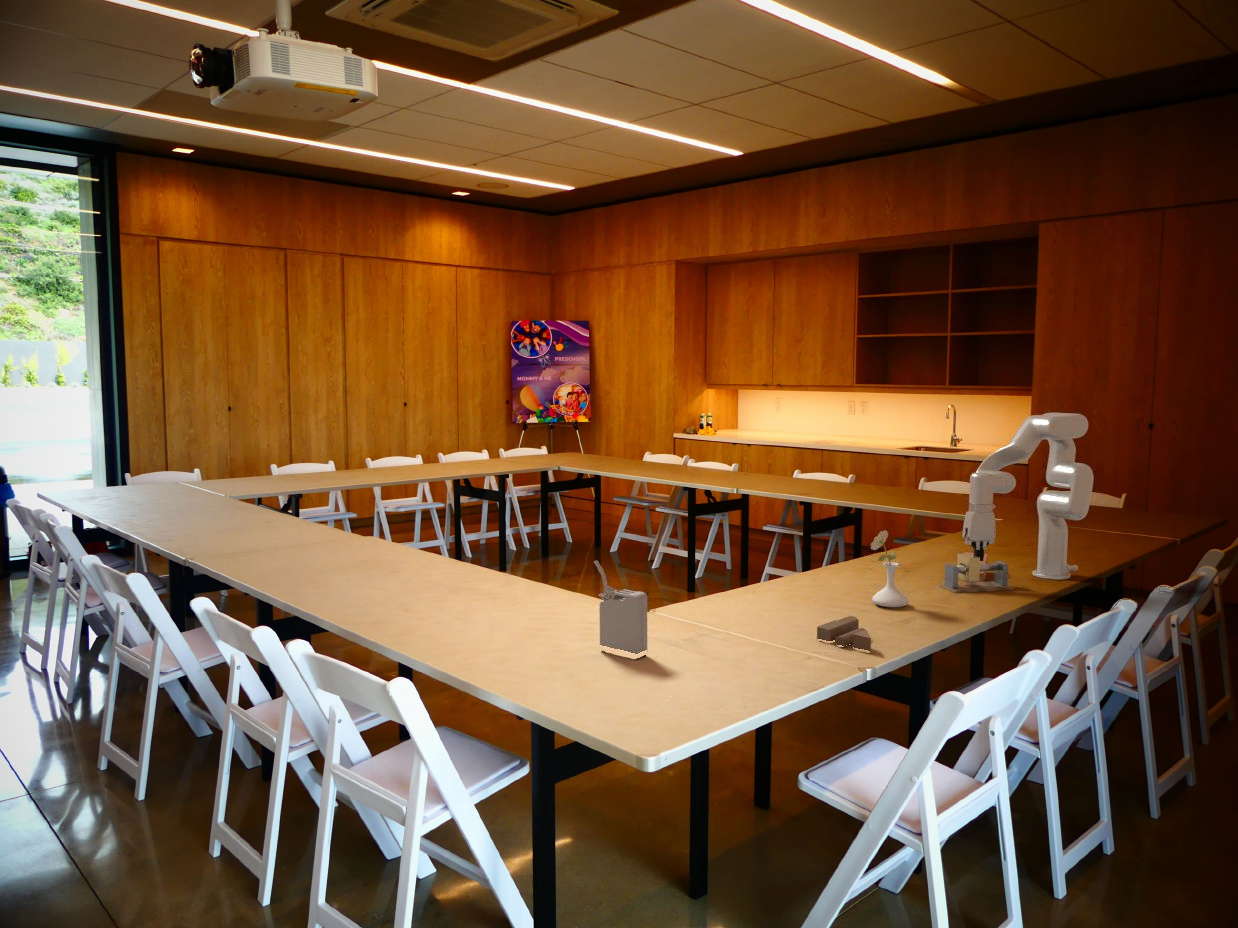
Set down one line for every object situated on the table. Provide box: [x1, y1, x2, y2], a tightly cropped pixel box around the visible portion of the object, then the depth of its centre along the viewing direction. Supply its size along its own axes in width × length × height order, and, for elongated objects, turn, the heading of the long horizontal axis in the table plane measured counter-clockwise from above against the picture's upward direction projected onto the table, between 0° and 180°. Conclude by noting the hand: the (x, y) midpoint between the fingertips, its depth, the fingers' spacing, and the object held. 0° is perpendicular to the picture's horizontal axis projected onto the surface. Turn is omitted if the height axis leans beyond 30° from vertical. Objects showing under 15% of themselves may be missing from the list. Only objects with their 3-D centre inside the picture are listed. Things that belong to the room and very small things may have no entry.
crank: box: [963, 551, 988, 582], centre depth 321 cm, size 20×8×8 cm, turn 154°
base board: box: [938, 580, 1014, 594], centre depth 305 cm, size 22×10×1 cm, turn 101°
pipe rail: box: [944, 560, 1009, 589], centre depth 304 cm, size 21×5×8 cm, turn 101°
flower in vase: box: [870, 529, 910, 608], centre depth 281 cm, size 13×11×25 cm
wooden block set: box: [816, 615, 872, 651], centre depth 246 cm, size 17×6×18 cm
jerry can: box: [593, 559, 648, 654], centre depth 236 cm, size 15×5×25 cm, turn 51°
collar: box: [956, 553, 980, 582], centre depth 304 cm, size 4×7×8 cm, turn 11°
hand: (978, 560), depth 304 cm, fingers closed
